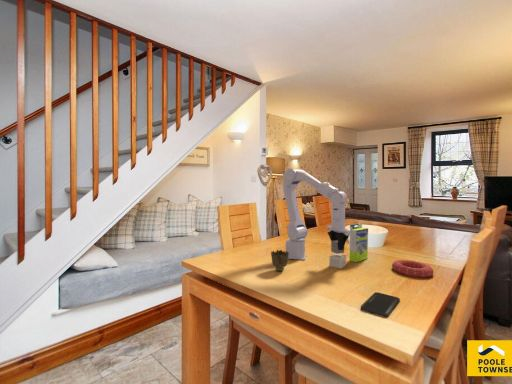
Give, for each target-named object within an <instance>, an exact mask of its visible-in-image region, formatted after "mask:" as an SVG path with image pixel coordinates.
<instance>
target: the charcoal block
mask: <svg viewBox="0 0 512 384" xmlns="http://www.w3.org/2000/svg"><path fill="white" fill-rule="evenodd" d="M330 243H331V244H330V245H331V247H330V250H331V252H332V253H333V254H345V248H344V249H343V250H339V249H338V240H331V239H330Z"/></svg>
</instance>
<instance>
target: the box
mask: <svg viewBox="0 0 512 384" xmlns="http://www.w3.org/2000/svg"><path fill="white" fill-rule="evenodd" d="M349 231H351V233H350V235H349V262H352V263H357V262H361V261H364V260H367V259H368V250H369V249H368V247H369V228H368V227H364V226H363V223H362V222H358V223H353V224H349Z"/></svg>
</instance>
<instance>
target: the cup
mask: <svg viewBox="0 0 512 384" xmlns="http://www.w3.org/2000/svg"><path fill="white" fill-rule="evenodd" d="M270 254H271V263H272V265H273V266H274V267H275V271H277V272H283V271H285V267H287V264H288V261H289V259H288V254H289V252H287V251H286V250H282V249H280V250H278V249H276V251H274V250H273V251H271V252H270Z"/></svg>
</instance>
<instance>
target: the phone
mask: <svg viewBox="0 0 512 384" xmlns="http://www.w3.org/2000/svg"><path fill="white" fill-rule="evenodd" d="M400 300H401V299H400V297H397V296H394V295H389V294H386V293H381V292H377V291H376V292H374V293H372V295H370V297H368V298H367V299H366V300H365V301H364V302H363V303H362V304H361V305H360V310H361V311H363V312H365V313H369V314H373V315H375V316H378V317H379V316H380V317H381V318H382V317H383V318H389V317H390V315H391V314H392V313H393V311H394V310H395V309H396V307H397V306H398V305H399V303H401V301H400Z"/></svg>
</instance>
